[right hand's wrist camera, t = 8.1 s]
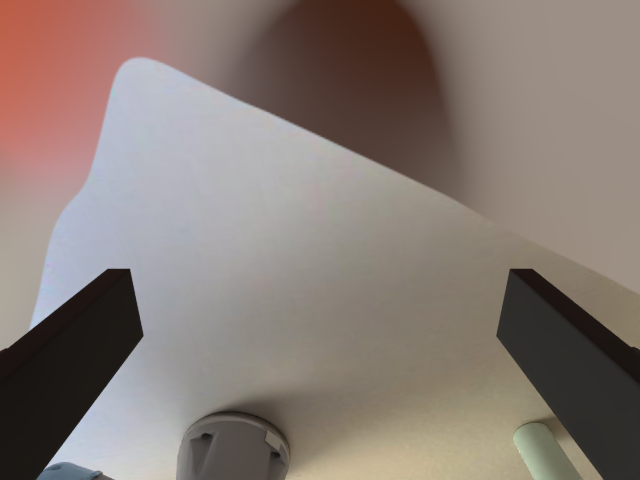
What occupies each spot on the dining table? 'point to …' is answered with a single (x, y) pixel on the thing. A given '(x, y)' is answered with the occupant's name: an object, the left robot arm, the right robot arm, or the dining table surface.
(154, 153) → the dining table surface
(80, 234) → the dining table surface
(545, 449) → the green bottle
